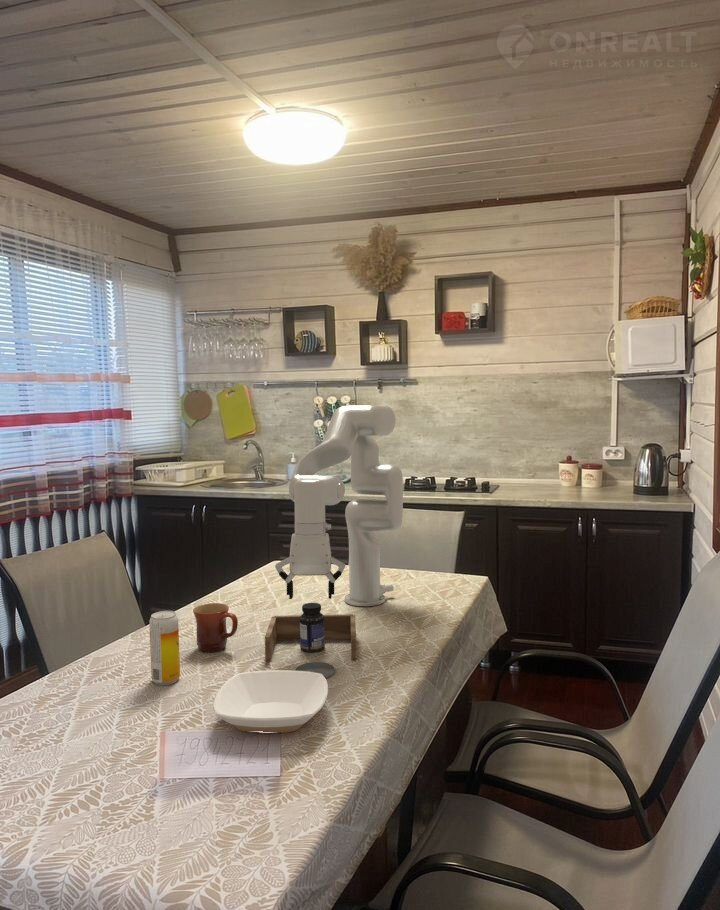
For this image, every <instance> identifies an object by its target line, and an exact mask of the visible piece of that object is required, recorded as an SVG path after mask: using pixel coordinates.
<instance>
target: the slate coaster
mask: <svg viewBox="0 0 720 910" xmlns="http://www.w3.org/2000/svg"><path fill="white" fill-rule="evenodd" d="M294 671H308V672H314V673H320V674H322V675H323V676H324V677H325V679H326V680H327V679H329V678H331V677H332V676H335V675H334V674H335V673H336V672H335V671H336V668H335V666H334V665H333V664H330V663H328V662H323V661H310V662H305V663H302V664H300V665H298V666H296V668H294Z"/></svg>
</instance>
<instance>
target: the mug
mask: <svg viewBox="0 0 720 910" xmlns="http://www.w3.org/2000/svg"><path fill="white" fill-rule="evenodd" d="M229 606H230V605H228V604H226V603H220V602H210V603H204V604H200V605H197V606H195V607H194V608H193V611H192V612H193V615H194V617H195V622H196V645H197V648H198V649H199V651H202V652H204V653H217V652H220V651H222V650H223V649H224V648H226V646H227V643H228V639H229V638H231V637H233V636H234V635H235V634H236V632H237V629H238V627H239V625H238V624H239V620H238V616H237V615H236V614H234V613H232V612H229V609H230V607H229ZM228 618H230V619H231V620H232V621H231V622H232V627H231V631H230V632H228V628H227V619H228Z"/></svg>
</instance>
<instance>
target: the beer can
mask: <svg viewBox="0 0 720 910" xmlns="http://www.w3.org/2000/svg"><path fill="white" fill-rule="evenodd" d="M179 632H180V631H179V616H178V615H177V613H176V611H173V610H160V611H156V612H154V613H152V614H151V615H150V619H149V639H150V640H149V642H150V644H149V645H150V647H149V648H150V669H151V671H150V673H151V675H150V676H151V681H152V682H154V684H155V685H159V686H167V685H172V684H174V683H176V682H177V681H178V679H179V678H180V677H181V664H180V663H181V662H180V658H181V657H180V638H179V637H180V636H179V635H180V634H179Z"/></svg>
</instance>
